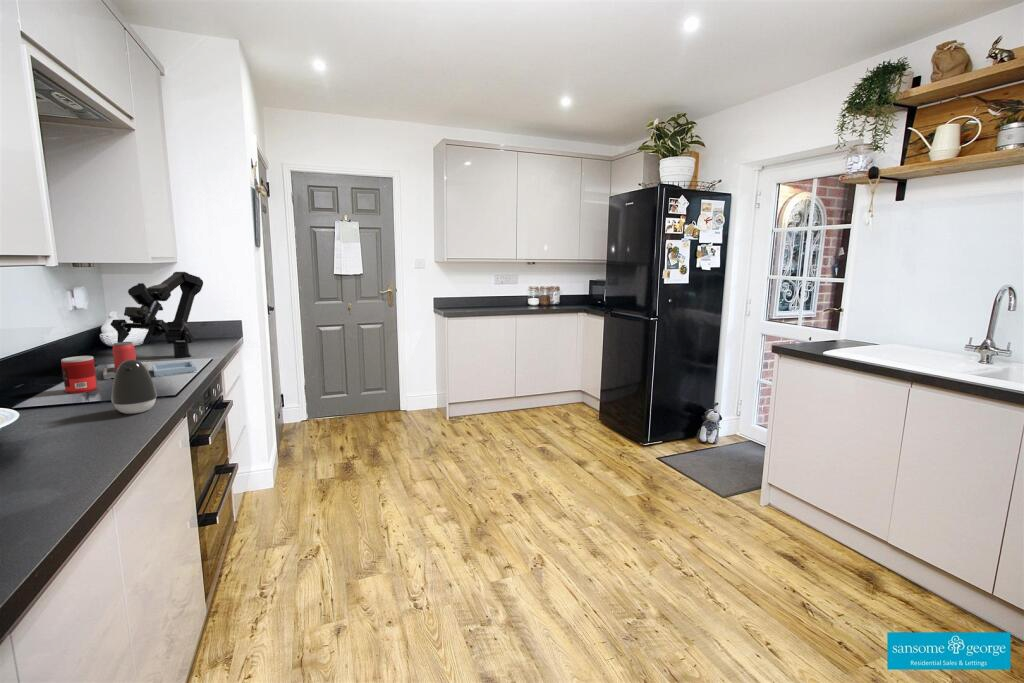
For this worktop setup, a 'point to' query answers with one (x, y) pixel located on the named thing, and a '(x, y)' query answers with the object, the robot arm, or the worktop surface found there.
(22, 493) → the worktop surface
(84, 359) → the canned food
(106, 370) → the bay frame
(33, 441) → the worktop surface
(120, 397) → the grey egg-shaped dome
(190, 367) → the tray
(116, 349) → the beer can
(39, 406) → the worktop surface
